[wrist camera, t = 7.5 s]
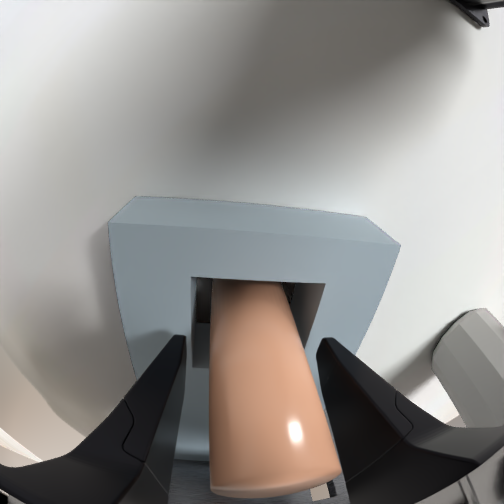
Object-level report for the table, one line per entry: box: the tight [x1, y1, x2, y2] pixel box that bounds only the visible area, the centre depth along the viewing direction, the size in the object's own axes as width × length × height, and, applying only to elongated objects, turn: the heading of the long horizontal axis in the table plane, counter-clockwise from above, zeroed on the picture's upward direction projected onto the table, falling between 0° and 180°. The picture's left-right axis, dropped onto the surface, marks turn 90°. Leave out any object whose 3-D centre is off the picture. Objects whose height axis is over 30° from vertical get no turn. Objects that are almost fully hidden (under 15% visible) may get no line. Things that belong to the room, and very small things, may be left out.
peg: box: [209, 278, 342, 498], centre depth 9 cm, size 3×3×9 cm
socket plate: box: [108, 196, 401, 461], centre depth 14 cm, size 10×19×3 cm, turn 173°
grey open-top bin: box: [168, 407, 350, 504], centre depth 14 cm, size 12×8×10 cm, turn 83°
